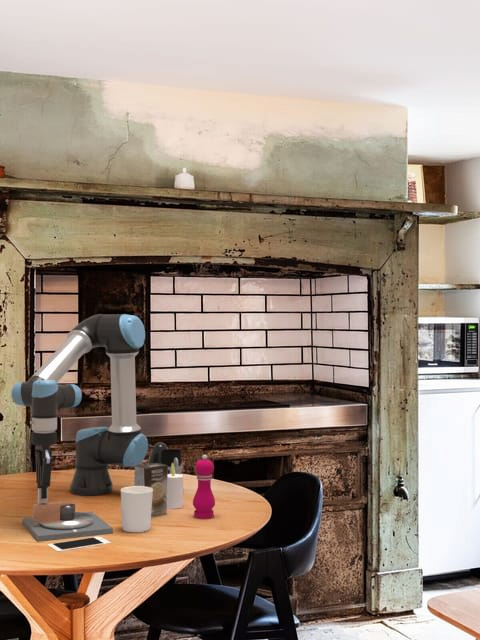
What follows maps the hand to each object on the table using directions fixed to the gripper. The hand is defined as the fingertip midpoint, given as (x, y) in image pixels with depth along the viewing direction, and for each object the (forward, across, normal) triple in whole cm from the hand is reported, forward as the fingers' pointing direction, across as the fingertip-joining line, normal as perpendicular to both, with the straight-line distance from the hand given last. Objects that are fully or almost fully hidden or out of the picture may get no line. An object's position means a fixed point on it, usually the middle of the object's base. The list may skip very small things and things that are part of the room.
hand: (42, 508), depth 248 cm
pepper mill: (+5, +8, +50) cm, 51 cm away
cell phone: (+6, +23, +5) cm, 25 cm away
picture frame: (+5, -27, +53) cm, 60 cm away
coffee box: (+5, -1, +35) cm, 36 cm away
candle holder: (+6, +14, +25) cm, 29 cm away
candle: (+5, -8, +46) cm, 47 cm away
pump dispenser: (+5, -48, +56) cm, 74 cm away
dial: (+4, +5, +5) cm, 8 cm away
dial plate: (+5, +5, +6) cm, 10 cm away
